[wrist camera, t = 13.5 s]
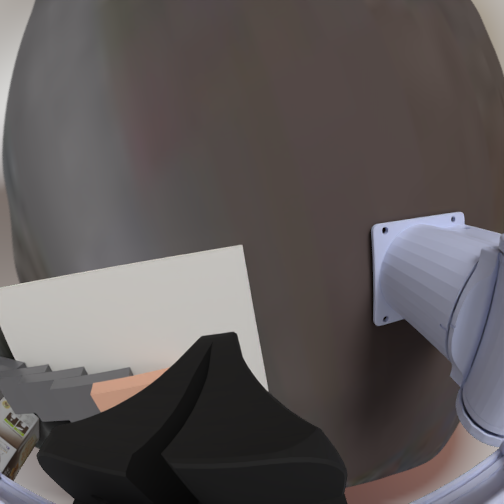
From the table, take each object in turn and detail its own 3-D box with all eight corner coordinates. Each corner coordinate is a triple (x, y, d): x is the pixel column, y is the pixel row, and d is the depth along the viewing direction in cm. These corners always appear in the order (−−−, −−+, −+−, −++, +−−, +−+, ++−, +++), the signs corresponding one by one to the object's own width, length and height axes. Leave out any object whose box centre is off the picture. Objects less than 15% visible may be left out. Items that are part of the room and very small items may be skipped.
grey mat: (242, 244, 18) (242, 246, 18) (273, 415, 22) (273, 419, 21) (-10, 289, 19) (-13, 290, 18) (46, 407, 22) (44, 409, 22)
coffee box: (7, 389, 22) (-48, 453, 6) (40, 417, 23) (-10, 491, 7) (11, 417, 24) (-32, 474, 8) (40, 441, 25) (2, 504, 9)
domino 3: (80, 375, 18) (17, 383, 16) (103, 415, 20) (42, 421, 17) (83, 366, 20) (22, 375, 18) (105, 405, 21) (45, 412, 19)
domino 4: (128, 377, 18) (49, 389, 16) (150, 419, 19) (76, 429, 17) (129, 366, 20) (54, 379, 18) (149, 408, 21) (78, 418, 19)
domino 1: (16, 369, 18) (-12, 360, 19) (37, 405, 19) (6, 392, 20) (24, 362, 20) (-5, 355, 21) (43, 397, 21) (12, 386, 22)
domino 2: (44, 372, 19) (-7, 378, 16) (66, 410, 20) (15, 414, 17) (48, 364, 20) (-2, 371, 17) (69, 401, 21) (18, 406, 18)
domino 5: (186, 374, 18) (90, 394, 16) (203, 418, 19) (117, 436, 17) (183, 363, 20) (93, 383, 17) (200, 407, 21) (117, 424, 18)
